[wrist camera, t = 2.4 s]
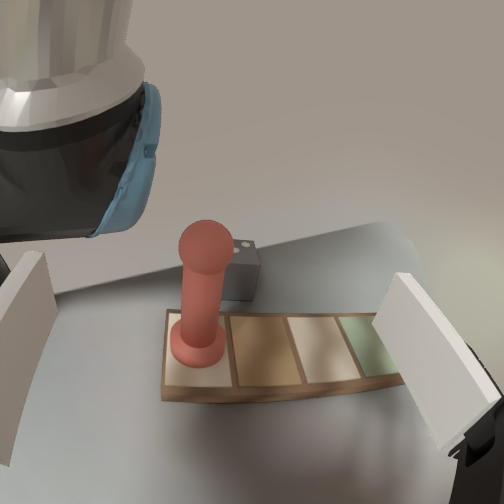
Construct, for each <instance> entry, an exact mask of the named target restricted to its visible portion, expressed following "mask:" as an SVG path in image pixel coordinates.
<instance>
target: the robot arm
mask: <svg viewBox="0 0 504 504" xmlns="http://www.w3.org/2000/svg"><path fill="white" fill-rule="evenodd" d="M132 2H133V0H0V243H10V242H23V241H35V240H50V239H64V238H80V237H86V238H93V237H96V236H98V235H99V234H106V233H113V232H121V231H125V230H128V229H129V228H131V227H132V226H134V225H135V224H136V223H137V221H138V220H139V219H140V217H141V216H142V214H143V212H144V209H145V206H146V204H147V201H148V197H149V194H150V189H151V186H152V181H153V177H154V171H155V166H156V155H155V151H156V149H157V145H158V142H159V136H160V127H161V99H160V93H159V90H158V89H157V88H156V86H154V85H152V84H148V83H147V82H144V81H143V78H144V72H145V68H144V64H143V62H142V60H141V59H140V58H139V57H138V56H137V55H136V54H135V53H134V52H133V51H132V50H131V49H130V48H129V47H128V46H127V45H126V44H125V40H126V34H127V28H128V23H129V17H130V12H131V7H132ZM58 313H59V312H58V308H57V305H56V301H55V297H54V293H53V290H52V286H51V282H50V277H49V273H48V269H47V263H46V259H45V254H44V252H40V251H26V252H25V253H24V255H23V256H22V258H21V259H20V260H19V262H18V263H17V264H16V266H15V267H14V268H13V270H12V271H10V269H9V268H8V266H7V264H6V263H5V261H4V259H3V258H2V256H1V254H0V464H3V465H5V466H8V467H9V465H10V460H11V455H12V450H13V446H14V442H15V437H16V433H17V429H18V426H19V422H20V418H21V415H22V411H23V408H24V404H25V401H26V398H27V395H28V391H29V388H30V385H31V382H32V379H33V376H34V373H35V371H36V368H37V365H38V362H39V359H40V357H41V354H42V351H43V349H44V346H45V344H46V341H47V339H48V336H49V334H50V331H51V329H52V327H53V324H54V322H55V319H56V317H57V315H58ZM372 325H373V327H374V328H375V330H376V332H377V334H378V335H379V337H380V339H381V341H382V342H383V344H384V346H385V348H386V349H387V351H388V353H389V355H390V356H391V358H392V360H393V362H394V364H395V365H396V367H397V369H398V371H399V373H400V375H401V376H402V378H403V380H404V382H405V384H406V386H407V388H408V389H409V391H410V393H411V395H412V397H413V399H414V401H415V403H416V405H417V407H418V409H419V411H420V413H421V415H422V417H423V418H424V420H425V422H426V424H427V426H428V428H429V431H430V433H431V435H432V437H433V439H434V441H435V443H436V445H437V447H438V449H441V448H443V447H446V446H448V445H450V444H452V443H454V442H455V441H456V440H457V439H458V438H459V437H461V436H462V435H463V434H464V436H465V439H464V440H462V441H461V442H460V443H459V444H458V445H456V446H455V447H454V448H453V449H452V450H451V451H450V452H449V454H448V456H449V457H450V456H452V455H453V454H454V453H456V452H457V451H458V450H459V449H460V451H459V452H458V453H457V454H455V456H454V457H453V458H455V459H458V463H457V469H456V474H455V479H454V484H453V489H452V493H451V497H450V501H449V504H504V395H503V394H502V392H501V391H500V389H499V387H498V386H497V384H496V383H495V381H494V380H493V379H492V377H491V375H490V374H489V372H488V371H487V370H486V368H484V365H483V364H482V362H481V361H480V360H478V357H477V355H476V354H475V352H474V351H473V350H472V348H471V347H470V346H469V345H467V344H466V343H465V342H464V341H463V340H462V338H461V337H460V336H459V334H458V333H457V332H456V330H455V329H454V328H453V326H452V325H451V324H450V322H449V321H448V320H447V318H446V317H445V316H444V315H443V313H442V312H441V311H440V310H439V308H438V307H437V306H436V304H435V303H434V302H433V301H432V300H431V298H430V297H429V296H428V295H427V293H426V292H425V291H424V290H423V289H422V287H421V286H420V285H419V284H418V283H417V281H416V280H415V279H414V278H413V277H412V275H411V274H410V273H396V274H395V276H394V278H393V280H392V282H391V285H390V287H389V289H388V291H387V293H386V295H385V297H384V300H383V302H382V304H381V306H380V308H379V310H378V312H377V314H376V316H375V318H374V320H373V322H372Z"/></svg>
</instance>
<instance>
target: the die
mask: <svg viewBox="0 0 504 504" xmlns="http://www.w3.org/2000/svg"><path fill="white" fill-rule="evenodd" d="M233 242H234V253H233V257H232V259H231V261H230V263H229V264H228V266H227V267H226V268H225V274H224V281H223V288H222V295H221V299H222V300H246V301H253V296H254V292H255V287H256V283H257V278H258V274H259V269H260V262H259V258H258V255H257V251H256V248H255V244H254V241H248V240H234V239H233Z"/></svg>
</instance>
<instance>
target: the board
mask: <svg viewBox="0 0 504 504" xmlns="http://www.w3.org/2000/svg"><path fill="white" fill-rule="evenodd" d="M376 314H377V313H339V314H281V313H238V312H219V316H218V323H219V324H220V325H221V326H222V328H223V329H224V331H225V334H226V342H225V348H224V354H223V356H222V358H221V359H220V361H218V362H217V363H216V364H214V365H212V366H210V367H206V368H191V367H188V366H185V365H183V364H181V363H180V362H178V361H177V360H176V359H175V358H174V356H173V355H172V353H171V349H170V331H171V328H172V326H173V325H174V324H175V323H176V322H177V321H178V320H180V319H181V310H175V309H167V311H166V323H165V335H164V348H163V363H162V381H161V399H162V401H172V402H198V403H242V402H268V401H284V400H297V399H308V398H318V397H327V396H335V395H343V394H350V393H357V392H363V391H369V390H375V389H381V388H386V387H392V386H397V385H402V384H405V382H404V380H403V378H402V376H401V375H400V373H399V371H398V369H397V367H396V365H395V364H394V362H393V360H392V358H391V356H390V355H389V353H388V351H387V349H386V348H385V346H384V344H383V342H382V341H381V339H380V337H379V335H378V334H377V332H376V330H375V328H374V327H373V325H372V322H373V320H374V318H375V316H376Z"/></svg>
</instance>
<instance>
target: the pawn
mask: <svg viewBox="0 0 504 504" xmlns="http://www.w3.org/2000/svg"><path fill="white" fill-rule="evenodd" d="M233 253H234V242H233V238H232V236H231V234H230V232H229V231H228V230H227V229H226V228H225V227H224V226H223V225H222V224H220V223H218V222H216V221H212V220H201V221H197V222H195V223H193V224H191V225H190V226H188V227H187V228H186V229H185V231H184V232H183V233H182V236H181V238H180V241H179V254H180V258H181V260H182V262H183V280H182V302H181V319H180V320H178V321H177V322H176V323H175V324H174V325H173V326H172V328H171V331H170V349H171V353H172V355H173V356H174V358H175V359H176V360H177V361H178V362H180V363H181V364H183V365H185V366H188V367H191V368H206V367H210V366H212V365H214V364H216V363H217V362H218V361H220V359H221V358H222V356H223V354H224V348H225V342H226V334H225V331H224V329H223V328H222V326H221V325H220V324H219V323H218V316H219V309H220V302H221V295H222V288H223V281H224V274H225V268H226V267H227V266H228V264H229V263H230V261H231V259H232V257H233Z"/></svg>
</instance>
